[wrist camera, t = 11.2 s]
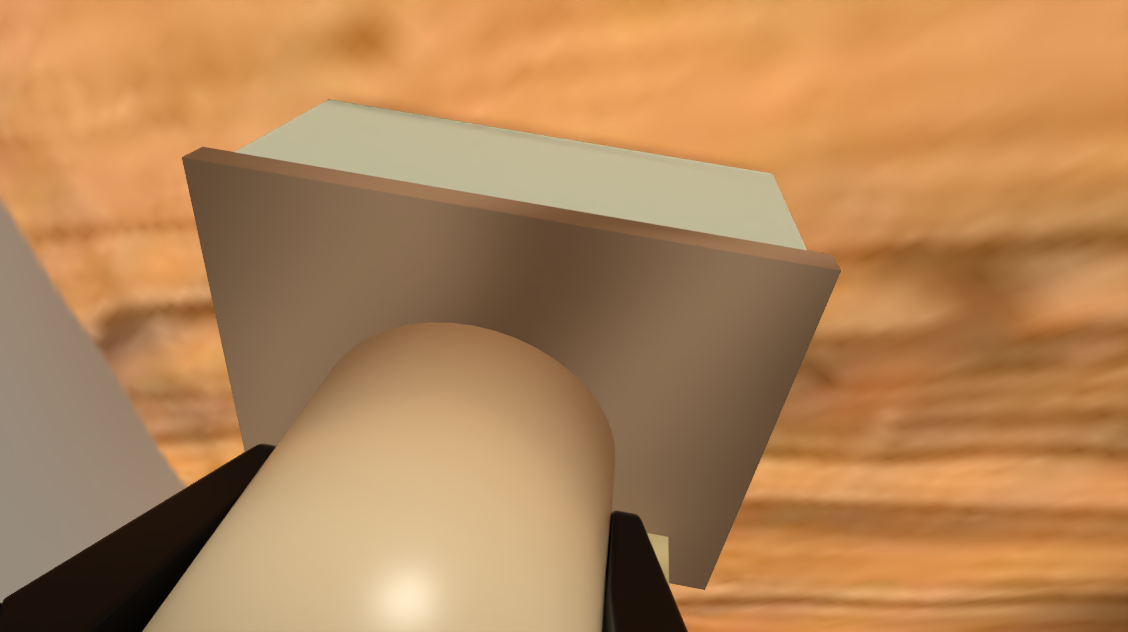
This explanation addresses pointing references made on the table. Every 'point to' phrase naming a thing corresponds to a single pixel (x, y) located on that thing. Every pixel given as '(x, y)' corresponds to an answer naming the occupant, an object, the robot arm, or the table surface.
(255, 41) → the table surface
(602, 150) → the box body
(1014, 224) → the table surface
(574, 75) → the table surface
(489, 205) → the lid
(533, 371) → the dome-topped beige cylinder
